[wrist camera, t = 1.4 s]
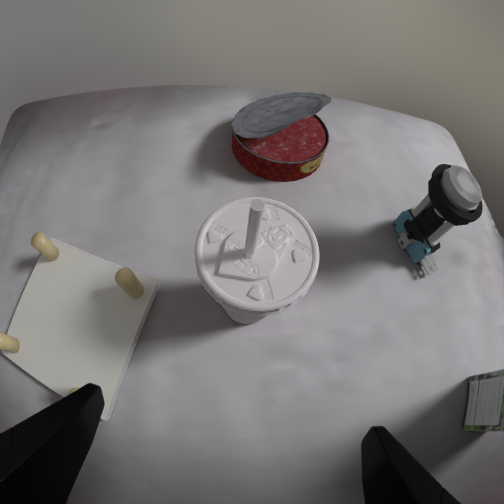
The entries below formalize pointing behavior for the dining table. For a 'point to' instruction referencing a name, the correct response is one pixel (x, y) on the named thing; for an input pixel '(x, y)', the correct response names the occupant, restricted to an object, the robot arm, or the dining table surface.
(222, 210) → the smoothie
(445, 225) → the push button
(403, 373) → the dining table surface
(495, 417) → the syrup box
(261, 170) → the canned food
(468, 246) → the dining table surface
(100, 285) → the pin plate
